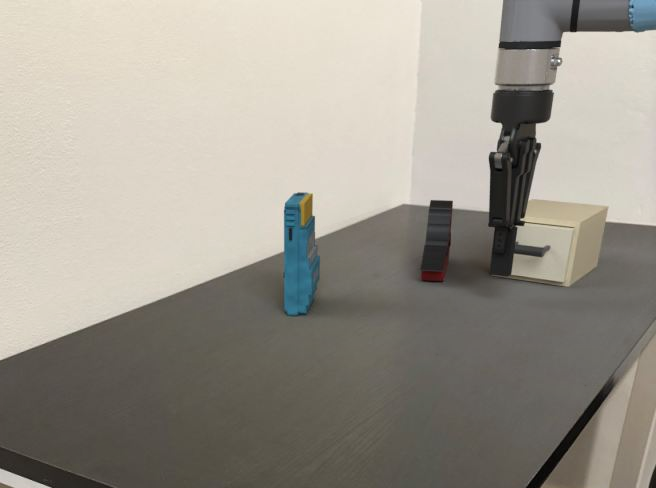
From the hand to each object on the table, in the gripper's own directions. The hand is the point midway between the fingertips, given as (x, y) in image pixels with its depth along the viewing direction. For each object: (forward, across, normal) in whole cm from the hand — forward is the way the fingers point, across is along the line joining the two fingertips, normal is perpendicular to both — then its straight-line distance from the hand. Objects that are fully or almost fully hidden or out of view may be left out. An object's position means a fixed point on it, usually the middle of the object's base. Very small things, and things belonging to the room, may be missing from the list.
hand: (500, 274), depth 113 cm
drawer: (+3, +18, 0) cm, 18 cm away
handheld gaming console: (+4, -16, +23) cm, 29 cm away
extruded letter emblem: (+5, +12, +15) cm, 20 cm away
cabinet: (+4, +22, 0) cm, 22 cm away
